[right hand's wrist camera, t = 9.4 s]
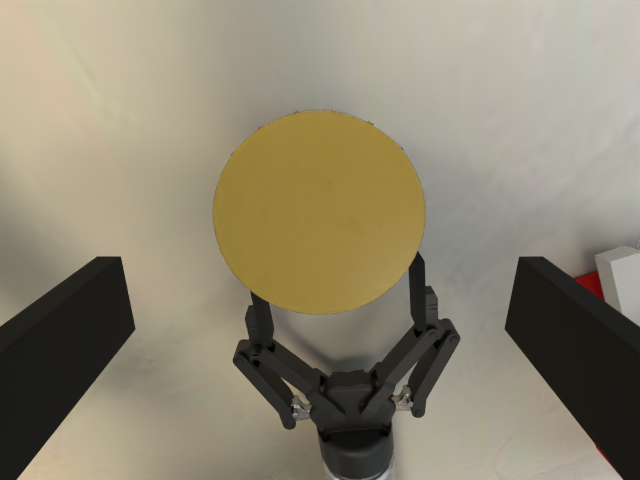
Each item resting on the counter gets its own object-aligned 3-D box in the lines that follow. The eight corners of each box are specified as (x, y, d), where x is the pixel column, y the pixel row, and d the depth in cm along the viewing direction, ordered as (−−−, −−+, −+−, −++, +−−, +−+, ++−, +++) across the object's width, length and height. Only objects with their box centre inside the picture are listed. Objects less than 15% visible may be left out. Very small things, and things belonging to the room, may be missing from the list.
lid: (194, 247, 23) (180, 264, 20) (275, 67, 19) (269, 64, 17) (353, 321, 24) (357, 344, 22) (453, 169, 21) (469, 178, 19)
